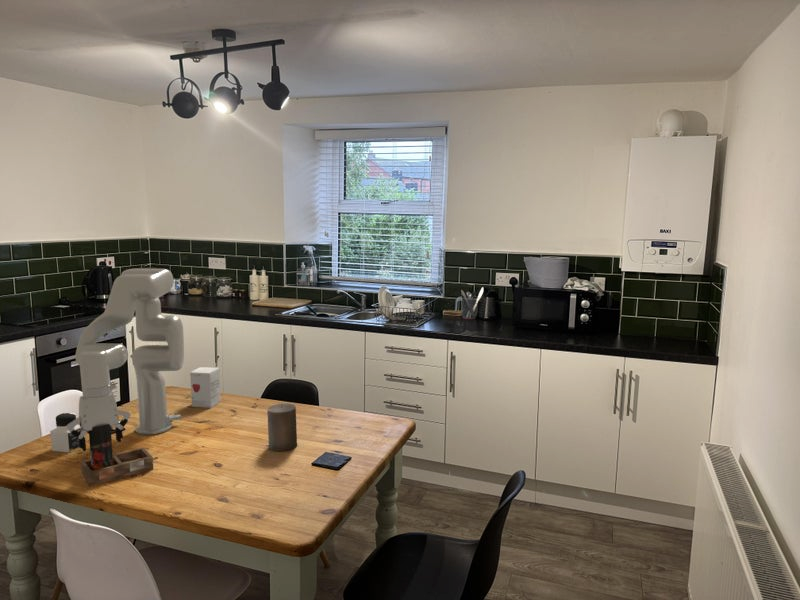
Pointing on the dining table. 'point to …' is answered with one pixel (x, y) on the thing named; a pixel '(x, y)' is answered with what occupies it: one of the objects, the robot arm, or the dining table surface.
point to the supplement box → (205, 387)
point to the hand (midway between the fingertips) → (101, 445)
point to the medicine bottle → (64, 434)
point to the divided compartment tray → (119, 466)
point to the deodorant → (101, 447)
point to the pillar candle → (282, 427)
